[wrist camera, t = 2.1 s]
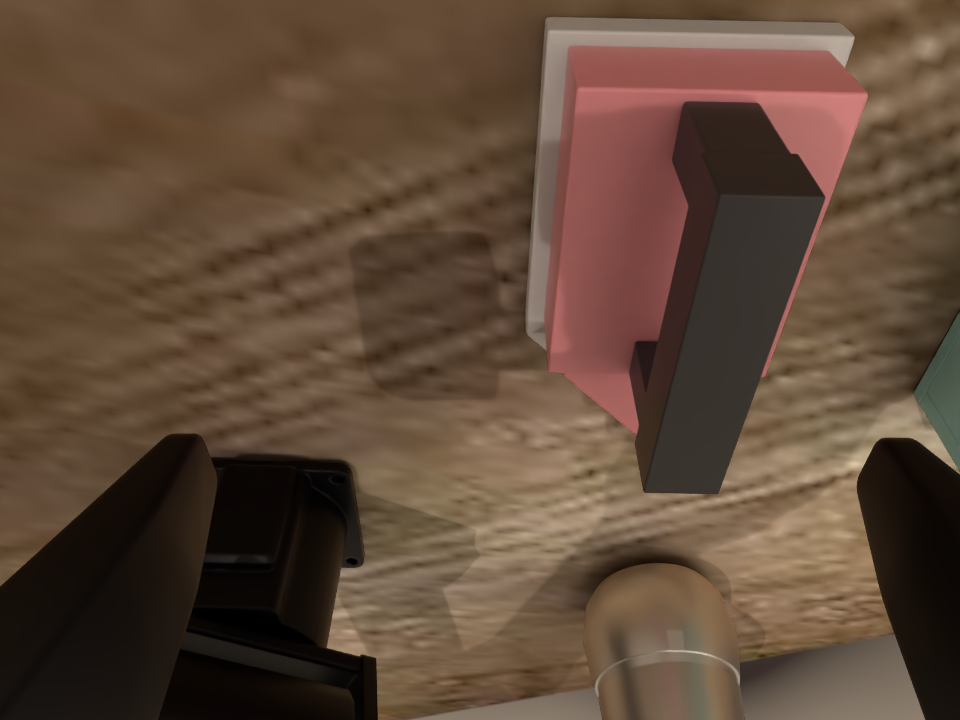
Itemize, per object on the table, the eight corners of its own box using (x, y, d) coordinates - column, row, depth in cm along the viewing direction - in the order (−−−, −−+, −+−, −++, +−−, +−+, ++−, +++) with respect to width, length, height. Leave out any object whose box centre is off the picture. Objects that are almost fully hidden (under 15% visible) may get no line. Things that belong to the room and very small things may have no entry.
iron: (545, 15, 18) (566, 163, 12) (841, 21, 18) (998, 172, 12) (519, 392, 26) (525, 581, 20) (721, 397, 26) (780, 587, 20)
